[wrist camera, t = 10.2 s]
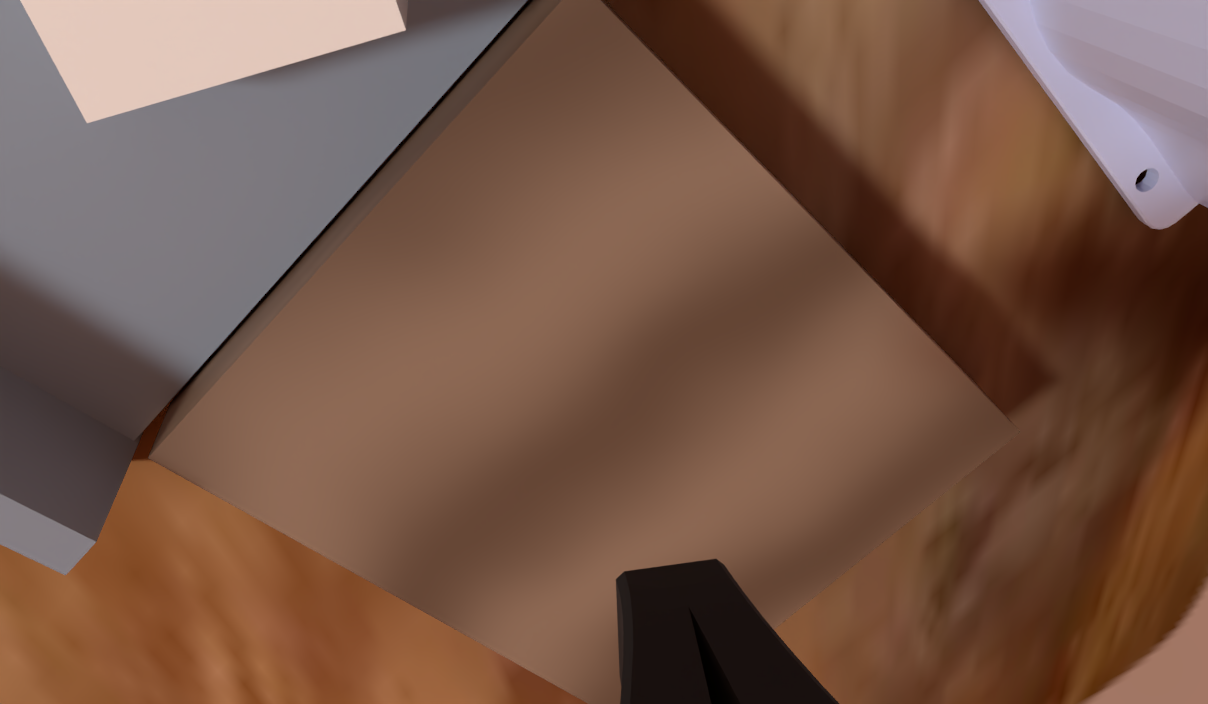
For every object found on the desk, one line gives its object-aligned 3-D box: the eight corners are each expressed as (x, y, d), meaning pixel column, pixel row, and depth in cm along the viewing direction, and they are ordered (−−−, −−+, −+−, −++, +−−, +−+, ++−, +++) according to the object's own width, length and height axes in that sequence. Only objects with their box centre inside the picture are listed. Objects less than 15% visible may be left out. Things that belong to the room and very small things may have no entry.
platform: (977, 385, 24) (1020, 431, 22) (629, 673, 27) (642, 733, 25) (564, -39, 17) (580, -21, 16) (170, 401, 20) (148, 458, 19)
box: (644, -129, 17) (692, -110, 14) (115, 462, 21) (65, 575, 18) (30, -832, 12) (-100, -1039, 9) (-504, 125, 16) (-716, 202, 13)
